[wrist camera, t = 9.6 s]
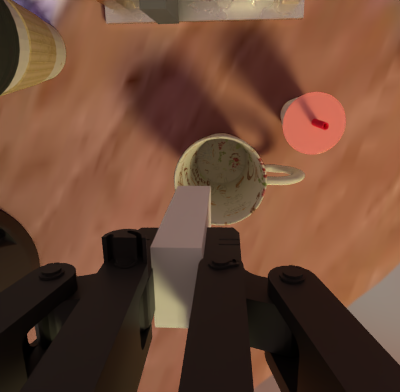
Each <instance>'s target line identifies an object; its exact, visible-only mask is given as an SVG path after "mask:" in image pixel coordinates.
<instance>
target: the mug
mask: <svg viewBox="0 0 400 392" xmlns="http://www.w3.org/2000/svg"><path fill="white" fill-rule="evenodd" d="M266 171H268V172H278V173H287V174H290V175H289V176H284V177H267V175H266ZM304 177H305V174H304V172H303V171H301V170H299V169H297V168H294V167H289V166H282V165H275V164H270V165H264V164H263V161H262V159H261V157H260V156H259V154H258V153H257V152H256V151H255V150H254V148H253V147H251V146H250V145H249V144H248V143H246V142H245V141H243V140H241V139H239V138H237V137H235V136H233V135H230V134H226V133H217V134H213V135H210V136H207V137H204V138H202V139H200V140H198V141H196V142H195V143H193V144H192V145H191V146H189V147H188V148H187V149H186V150H185V152H184V153H183V154H182V156H181V157H180V159H179V161H178V163H177V166H176V169H175V174H174V186H175V191H176V189H177V187H178V186H211V224H212V225H229V224H233V223H236V222H239V221H241V220H243V219H245V218H246V217H248V216H249V215H251V214H252V213H253V212H254V211H255V210H256V209H257V207H258V206H259V205H260V203H261V201H262V199H263V197H264V194H265V191H266V185H289V184H294V183H297V182H300V181H301V180H303V179H304Z"/></svg>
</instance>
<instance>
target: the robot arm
mask: <svg viewBox="0 0 400 392" xmlns="http://www.w3.org/2000/svg"><path fill="white" fill-rule="evenodd" d="M102 245H103V255H104V263H103V265H102V267H101V268H100V270H99V271H98V273H96V274H91V275H84V276H76V268H75V267H74V266H73V265H70V264H67V263H54V264H53V263H50V264H47V265H45V266H42V267H40V263H39V257H38V253H37V250H36V247H35V245H34V243H33V241H32V239H31V237H30V236H29V234H28V233H27V232H26V231H25V229H24V228H23V227H22V226H21V225H20V224H19V223H18V222H17V221H16V220H14V219H13V218H12V217H10V216H9V215H7V214H6V213H4V212H2V211H0V392H137V389H138V386H139V382H140V379H141V375H142V371H143V368H144V364H145V361H146V357H147V354H148V350H149V347H150V343H151V340H152V324H151V322H152V319H153V316H154V318H155V327H168V328H188V334H187V340H186V347H185V353H184V360H183V366H182V372H181V379H180V385H179V391H178V392H254V389H253V377H252V364H251V352H250V347H253V348H256V349H260V350H264V351H265V358H266V361H267V363H268V365H269V368H270V370H271V372H272V374H273V376H274V378H275V380H276V382H277V384H278V386H279V388H280V391H281V392H400V365H399V364H398V363H397V362H396V361H395V360H394V359H393V358H392V357H391V355H390V354H389V353H388V352H387V351H386V350H385V349H384V348H383V347H382V346H381V345H380V344H379V343H378V342H377V340H376V339H375V338H374V337H373V336H372V335H371V334H370V333H369V332H368V331H367V330H366V329H365V328H364V327H363V326H362V324H361V323H360V322H359V321H358V320H357V319H356V318H355V317H354V316H353V315H352V314H351V313H350V312H349V311H348V309H347V308H346V307H345V306H344V305H343V304H342V303H341V302H340V301H339V300H338V299H337V298H336V297H335V296H334V294H333V293H332V292H331V291H330V290H329V289H328V288H327V287H326V286H325V285H324V284H323V283H322V282H321V281H320V279H319V278H318V277H317V276H316V275H315V274H313V273H312V272H311V271H309V270H307V269H304V268H302V267H299V266H293V265H289V266H280V267H276V268H274V269H272V270H270V272H269V274H268V278H266V277H261V276H257V275H254V274H252V273H249V272H248V271H246V270H245V269H244V267H243V263H242V261H241V250H240V237H239V232H237V231H236V230H235V229H234V228H222V227H211V186H178V187H177V189H176V191H175V193H174V196H173V198H172V200H171V202H170V205H169V207H168V209H167V211H166V213H165V216H164V218H163V220H162V222H161V225H160V227H159V228H141V229H139V230H136V229H120V230H116V231H112V232H109V233H107V234H105V235H104V236H103V237H102ZM34 326H35V330H36V336H37V339H36V340H35V341H34V342H33V343H31V344H29V343H28V338H27V333H28V332H29V331H30V329H32V328H33V327H34Z"/></svg>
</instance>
